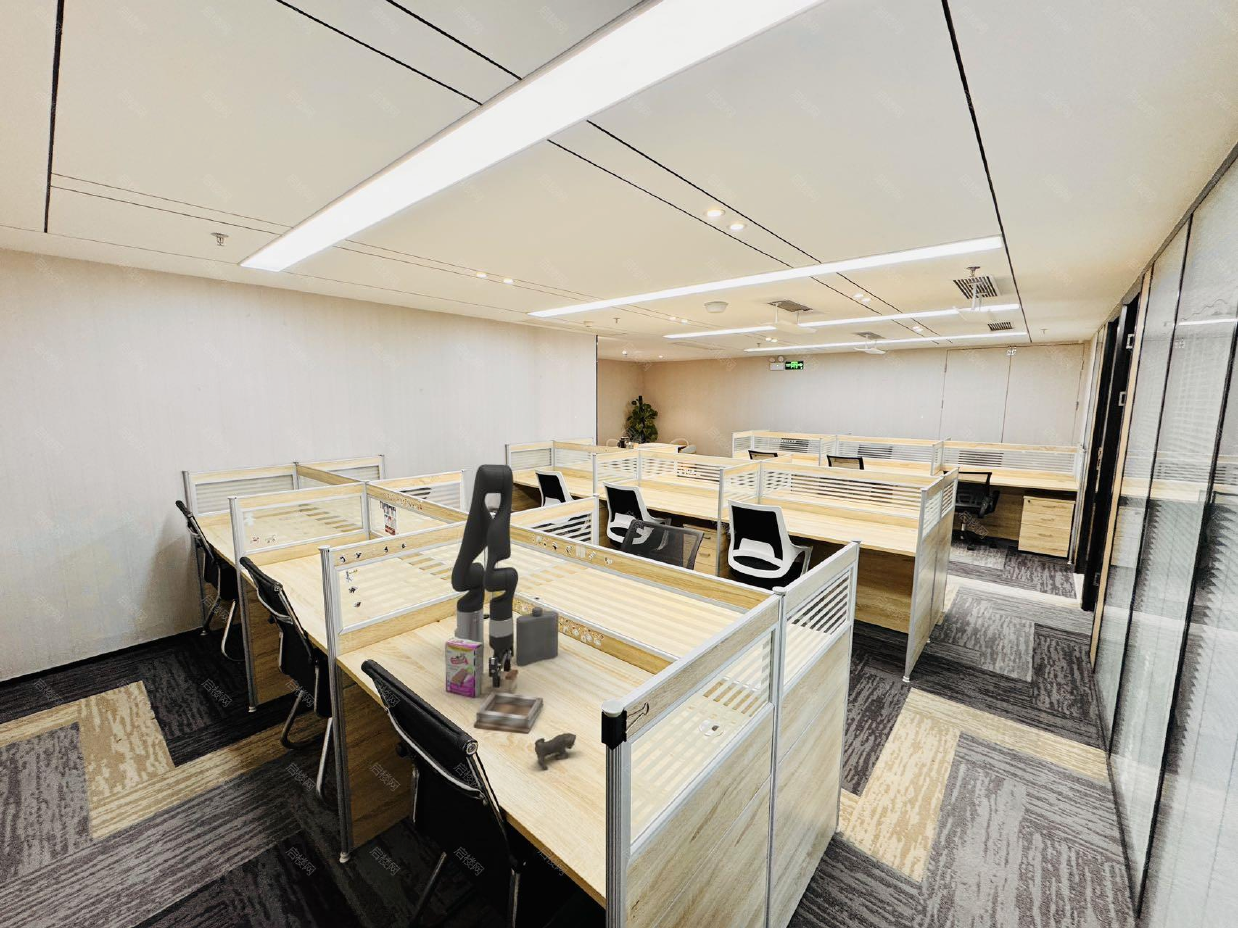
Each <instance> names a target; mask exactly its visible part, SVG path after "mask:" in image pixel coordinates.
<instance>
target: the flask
mask: <svg viewBox="0 0 1238 928" xmlns="http://www.w3.org/2000/svg"><path fill="white" fill-rule="evenodd" d="M515 622H516V623H515V624H516V625H515V626H516V627H515V628H516V630H515V631H516V632H515V633H516V634H515V639H516V641H515V642H516V643H515V645H516V646H515V649H516V651H515V653H516V654H515V655H516V656H515V658H516V659H515V662H516V666H518V667H526V666H529V665H532V664H535V663H537V662H541V661H546V660H552V659H556V658H557V657H558V656H559V613H558V612H557V611H555V610H545V611H544V610H543V608H542V607H541V606H534V607H532V609H531V613H526V614H522V615H520V616H518V617H517V618H516V621H515Z"/></svg>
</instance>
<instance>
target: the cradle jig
mask: <svg viewBox="0 0 1238 928" xmlns="http://www.w3.org/2000/svg"><path fill="white" fill-rule="evenodd" d="M543 707H544V698H543V697H538V696H529V695H523V694H517V693H516V694H515V693H513V694H509V693H501V692H492V693H491V694H489V695H488V697H487V698H486V700H484V702H483V703H482V704H481V706H480V708H479V709H478V710H477V711H476V717H475V718H476V719H475V720H476V721H475V722H474V723H473V728H475V729H476V728H477V729H482V730H490V731H497V732H508V733H517V734H526V735H529V733H530V731H531V729H532V727H533V726H534V723H535V722H536V720H537V718H538V716H539V714H540V713H541V710H542V708H543Z"/></svg>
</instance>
